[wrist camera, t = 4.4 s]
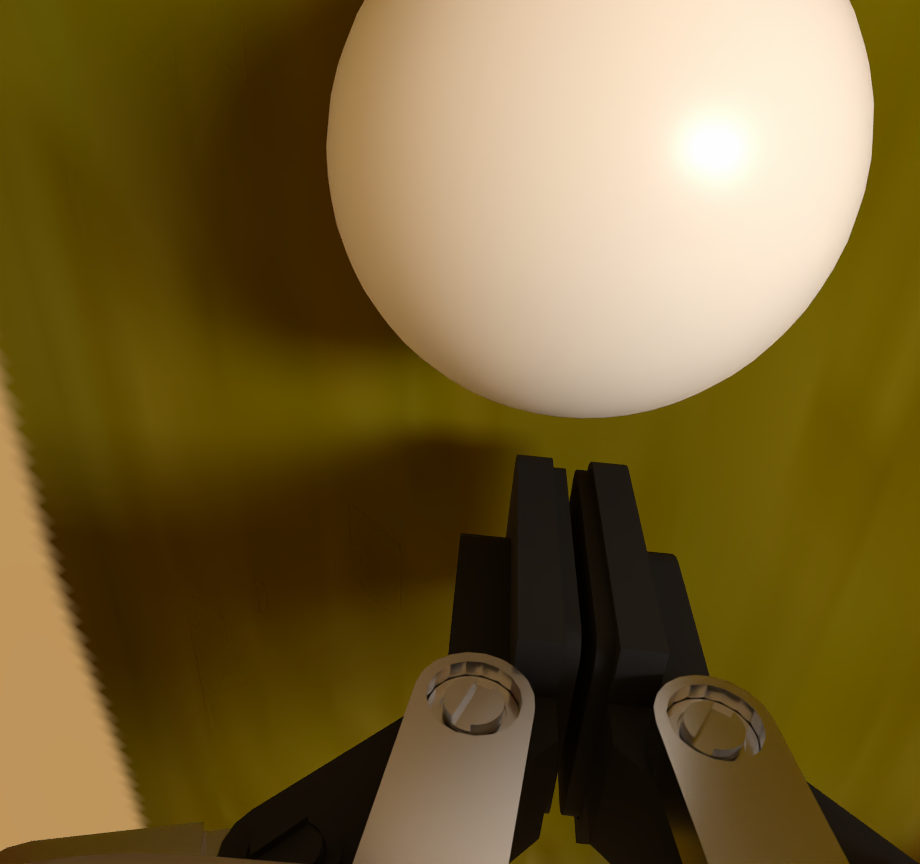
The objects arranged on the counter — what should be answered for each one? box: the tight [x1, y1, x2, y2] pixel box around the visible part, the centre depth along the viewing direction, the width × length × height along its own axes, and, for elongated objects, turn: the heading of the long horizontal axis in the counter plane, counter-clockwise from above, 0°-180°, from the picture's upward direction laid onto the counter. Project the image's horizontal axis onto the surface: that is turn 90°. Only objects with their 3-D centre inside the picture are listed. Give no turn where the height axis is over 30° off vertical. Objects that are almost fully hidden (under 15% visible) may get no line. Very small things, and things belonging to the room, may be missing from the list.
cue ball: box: [326, 0, 874, 418], centre depth 9 cm, size 6×6×6 cm
